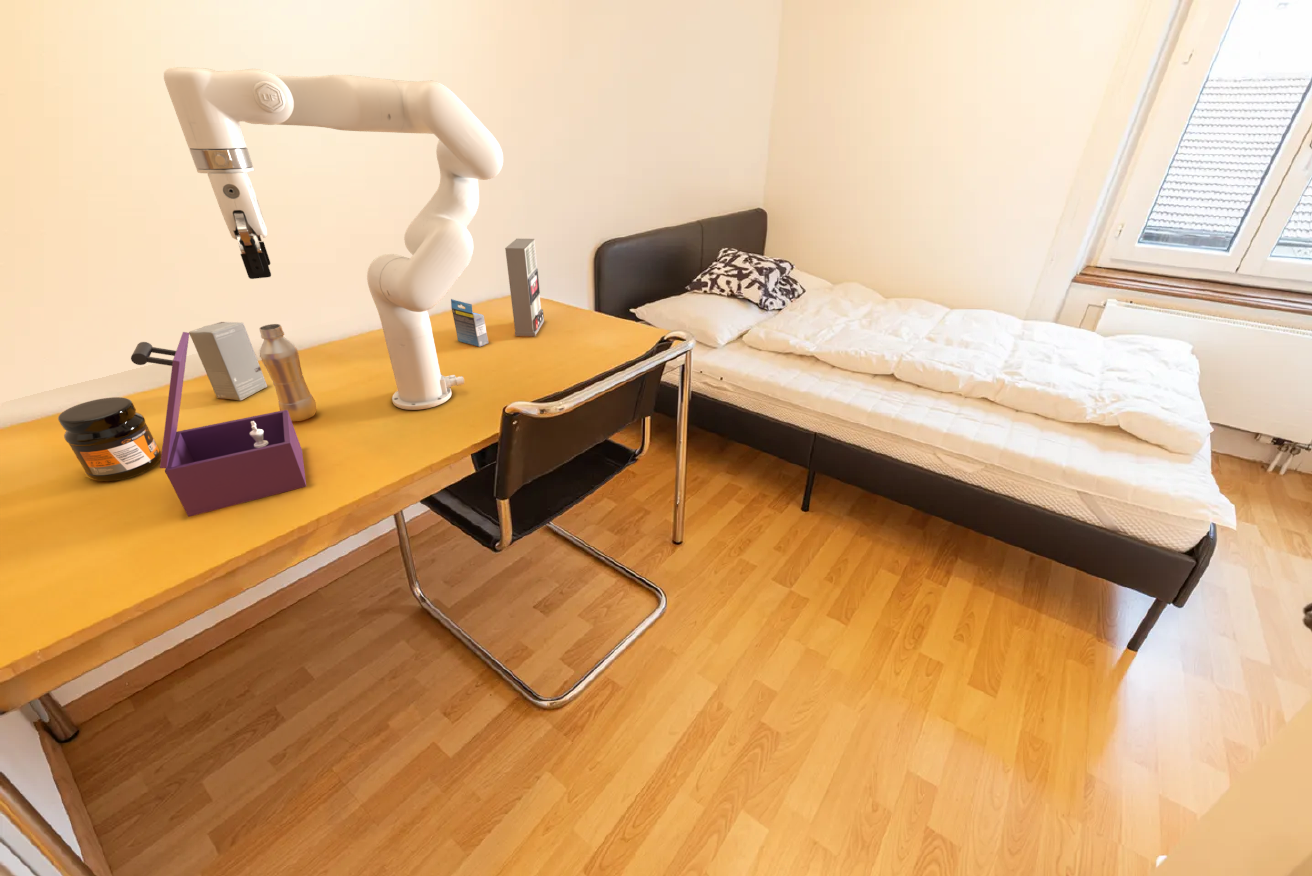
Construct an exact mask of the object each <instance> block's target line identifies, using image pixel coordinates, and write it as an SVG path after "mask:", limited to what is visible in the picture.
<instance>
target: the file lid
mask: <svg viewBox="0 0 1312 876" xmlns="http://www.w3.org/2000/svg"><path fill="white" fill-rule="evenodd" d="M189 339H190V334H189V332H187V331H182V334H181V337H180V339H179V342H178V344H177V348H176V349H175V350H174V349H167V348H161V347H155V346H153V345H152V343H149V342H147V341H140V342H138V343H137V345H136V347H135V348H134V351H133V352H132V354H131V356H130V360H131V362H132V363H133V364H135V365H137V366H143V365H146V364H147V363H149V364H157V365H164V366H169V367H171V373H170V381H169V388H168V389H169V390H168V397H167V406H166V414H165V423H164V430H163V437H162V438H163V439H162V446H161V447H162V448H161V459H160V463H159V464H160V465H159V468H160V469H166V468H167V466H168V462H169V458H170V454H171V451H172V447H173V443H174V439H175V436H176V432H177V431H178V425H179V418H180V409H181V403H182V402H181V401H182V394H183V393H182V392H183V387H184V378H185V371H186V370H185V369H186V364H187V363H186V362H187V355H188V354H187V353H188V348H189V347H188V346H189ZM152 354H159V355H164V356H172V357H173V359H167V358H160V357H154V356H151V355H152Z"/></svg>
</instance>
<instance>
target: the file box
mask: <svg viewBox="0 0 1312 876" xmlns="http://www.w3.org/2000/svg"><path fill="white" fill-rule="evenodd" d="M251 421H254V422H255V423H256V428H257V429H262V430H263V431H264V434H263V440H266V441H268V445H266V446H265V447H260V448H256V447H254V444H255V443H256V441H255V440H254V439H253V438H252V437H251V436H250V434H249V433H250V432H251V431H252V425H251ZM303 454H304V453H303V449H302V446H301V444H300V441H299V438H298V435H297V431H296V429H295V427H294V424H293V421H291V418H290V415H289V413H288V410H283V411H280V410H278V411H273V412H269V413H268V412H267V413H264V414H259V415H253V416H248V417H243V418H237V419H233V420H228V421H224V422H223V421H222V422H218V423H213V424H208V425H203V426H198V427H193V428H188V429H183V430H177V432H176V436H175V439H174V443H173V447H172V451H171V454H170V458H169V462H168V466H167V468H164V473H165V474H166V476H167V478H168V480H169V482H170V484H171V486H172V489H174V492H175V494H176V496H177V498H178V499H179V501H180V504H181V505H182V507H183V509H184V512H185V513H186V515H187V517H193V516H198V515H201V514H204V513H208V512H213V511H217V510H220V509H224V508H228V507H232V506H236V505H239V504H244V503H247V502H248V503H249V502H250V501H255V500H259V499H264V498H267V497H271V496H274V495H278V494H283V493H286V492H287V493H288V492H290V491H294V490H299V489H303V488H306V487H307V480H306V471H305V465H304V463H305V462H304V455H303Z"/></svg>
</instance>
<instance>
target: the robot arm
mask: <svg viewBox="0 0 1312 876" xmlns="http://www.w3.org/2000/svg"><path fill="white" fill-rule="evenodd" d="M163 80H164V83H165V86H166V87H165V88H166V90H167V92H168V95H169V97H170V100H171V103H172V106H173V108H174V109H173V110H174V111H175V114H176V116H177V120H178V122H179V125H180V128H181V131H182V133H183V136H184V138H185V141H186V145H187V147H188V149H189V150H188V151H189V152H190V155H191V158H192V161H193V164H194V167H195V169H196V172H197V173H199V174H207V176H208V179H209V182H210V185H211V188H212V191H213V193H214V197H215V199H216V202H217V205H218V207H219V210H220V212H221V215H222V218H223V220H224V222H225V225H226V227H227V229H228V232H229V234H230V236H231V238H232V239H234V240H236V241H237V243H238V247H239V250H240V257H241V260H242V263H243V265H244V269H245V271H246V274H247V277H248V279H250V280H255V279H265V278H266V279H267V278H271V276H272V272H271V270H270V265H271V259H270V257H269V254H268V251H267V248H266V245H265V243H264V241H263V240H262V238H263V239H266V238H267V236H268V228H267V225H266V222H265V219H264V216H263V212H262V210H261V207H260V203H259V200H258V198H257V195H256V191H255V188H254V186H253V183H252V180H251V178H250V176H249V174H248V173H249V172H255V168H254V165H253V161H252V159H251V155H250V152H249V149H248V146H247V143H246V142H247V141H246V140H245V137H244V133H243V131H242V127H241V124H240V122H245V123H247V124H252V125H265V126H274V125H275V126H276V125H280V126H297V127H299V126H301V127H317V128H327V129H330V130H331V129H333V130H338V131H344V132H345V131H346V132H347V131H348V132H366V133H367V132H369V133H371V132H372V133H374V132H375V133H395V134H396V133H398V134H399V133H400V134H427V135H429V134H430V135H434V136H435V137H436V138H437V139H438V141H437V144H436V148H435V149H436V150H435V151H436V152H435V153H436V161H437V165H438V169H439V177H440V179H439V184H438V187H437V189H436V191H435V193H434V194H433V195H432V197H431V198H430V199H429V201H428V202H427V203H426V204H425V205H424V207H423V208H422V209H421V210H420V211H419V213H418V214H417V215H416V216H415V217H414V219H412V221H411V222H410V224H408V227H407V228H406V230H405V232H404V237H403V238H404V239H403V240H404V245H405V248H406V249H407V250H408V252H409V253H410V254H411V255H412V256H411V257H410V258H409V257H406V256H403V255H400V254H395V253H385V254H382V255H378V256H377V257H375V258H374V259H373V260H372V261H371V262H370V264H369V266H368V269H367V272H366V273H367V274H366V280H367V285H368V289H369V292H370V295H371V297H372V300H373V303H374V305H375V308H376V311H377V313H378V316H379V320H380V323H381V327H382V332H383V335H384V340H385V344H386V348H387V353H388V356H389V361H390V364H391V369H392V373H393V377H394V380H395V381H394V382H395V386H396V388H397V389H396V391H395V392H394V393H393V394H392V396H391V401H392V403H393V405H394V406H395V407H397V408H398V409H402V410H409V411H420V410H426V409H431V408H434V407H438V406H440V405H442V404H444V403H446V402H448V400H449V399H450V398H451V397H452V394H453V393H452V389H451V388H452V387H457V386H461V385H465V378H464V376H463V375H461V376H456V375H455V374H451V375H450V374H449V375H447V376H445V375H442V373H441V370H440V364H439V359H438V354H437V348H436V344H435V339H434V334H433V333H434V332H433V328H432V323H431V319H430V315H429V312H428V311H430V310H431V309H433V308H434V307H435V306H437V305H438V304H439V303H440V302H441V301H442V300H443V298H444V297H445V296H446V294H447V293H448V292H449V291H450V290H451V288H452V287H453V285H455V283H456V282H457V281H458V279H460V277H461V276H462V274H463V273H464V272H465V270H466V269H467V267H468V266H469V265H470V262H471V261H472V258H473V254H474V240H473V236H472V234H471V232H470V231H469V229H468V226H469V225H470V224H471V222H472V221H473V219H474V218H475V215H476V214H477V212H478V209H479V205H480V188H479V180H481V181H487V180H491V179H493V178H495V177H496V176H498V175H499V174H500V172H501V171H502V169H503V165H504V153H503V150H502V147H501V144H500V143H499V141H498V139H497V138H496V137H495V136H494V135H493V133H492V132H491V131H490V130H489V129H488V128H487V127H486V126H485V125H484V124H483V122H482V121H481V120H480V119H479V118H478V117H477V116H476V115H475V114H474V113H473V111H472V110H471V109H470V108H469V107H468V106H467V104H466V103H464V102H463V101H462V100H461V98H459V96H458V95H456V93H455V92H453V91H452V90H451V89H450V88H449V87H448V86H446V85H444V84H443V83H441V82H439V81H437V80H419V81H416V80H415V81H414V80H400V79H391V78H379V77H370V76H368V77H367V76H361V75H353V74H327V75H318V76H295V75H281V74H279V75H278V74H274V73H271V72H269V71H268V70H264V69H260V68H245V69H237V70H235V69H234V70H215V69H213V68H212V69H211V68H204V67H186V66H185V67H184V66H183V67H182V66H177V67H175V66H174V67H169V68H166V69H165V70H164V72H163ZM261 236H262V237H261Z"/></svg>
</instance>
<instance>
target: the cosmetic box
mask: <svg viewBox="0 0 1312 876" xmlns="http://www.w3.org/2000/svg"><path fill="white" fill-rule="evenodd" d="M188 333H189V337H190V338H191V340H192V343H193V345H194V348H195V349H196V350H195V351H196V352H197V354H198V357H199V360H200V361H201V364H202V366H203V368H204V371H205V373H206V375H207V378H208V380H209V382H210V385H211V387H212V389H213V392H214V395H215V397H216V398H217V399H221V400H222V399H224V400H225V399H226V400H232V401H243V400H244V399H246V398H248V397H250V396H252V395H254V394H256V393H258V392H259V391H262V390H263V389H266V388H267V387H268V384H267V382H266V379H265V376H264V373H263V371H262V368H261V365H260V363H259V361H258V358H257V355H256V352H255V350H254V347H253V345H252V342H251V340H250V337H249V334H248V330H247V329H246V326H245V324H244V322H238V321H237V322H233V321H219V322H216V323H213V324H209V325H204V326H202V327H199V328H196V329H193V330H190V331H189V332H188Z"/></svg>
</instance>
